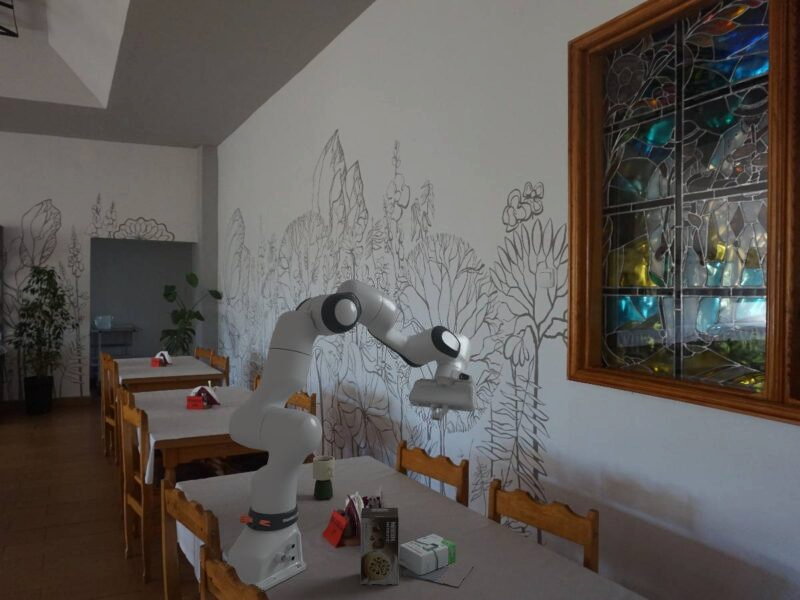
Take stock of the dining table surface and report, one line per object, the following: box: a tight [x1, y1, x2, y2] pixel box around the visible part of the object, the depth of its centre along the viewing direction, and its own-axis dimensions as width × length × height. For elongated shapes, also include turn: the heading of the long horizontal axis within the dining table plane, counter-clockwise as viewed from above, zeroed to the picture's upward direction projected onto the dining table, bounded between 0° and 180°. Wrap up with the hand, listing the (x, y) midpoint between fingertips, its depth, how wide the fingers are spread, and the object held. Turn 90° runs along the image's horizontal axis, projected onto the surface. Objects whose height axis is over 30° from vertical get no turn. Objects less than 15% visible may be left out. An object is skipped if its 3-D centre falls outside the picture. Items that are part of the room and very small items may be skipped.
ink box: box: [399, 533, 457, 575], centre depth 157 cm, size 9×5×12 cm
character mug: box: [312, 455, 336, 500], centre depth 204 cm, size 11×7×13 cm, turn 38°
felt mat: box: [402, 565, 461, 582], centre depth 154 cm, size 12×14×1 cm
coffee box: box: [359, 507, 400, 586], centre depth 149 cm, size 9×6×16 cm
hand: (436, 419), depth 180 cm, fingers closed
